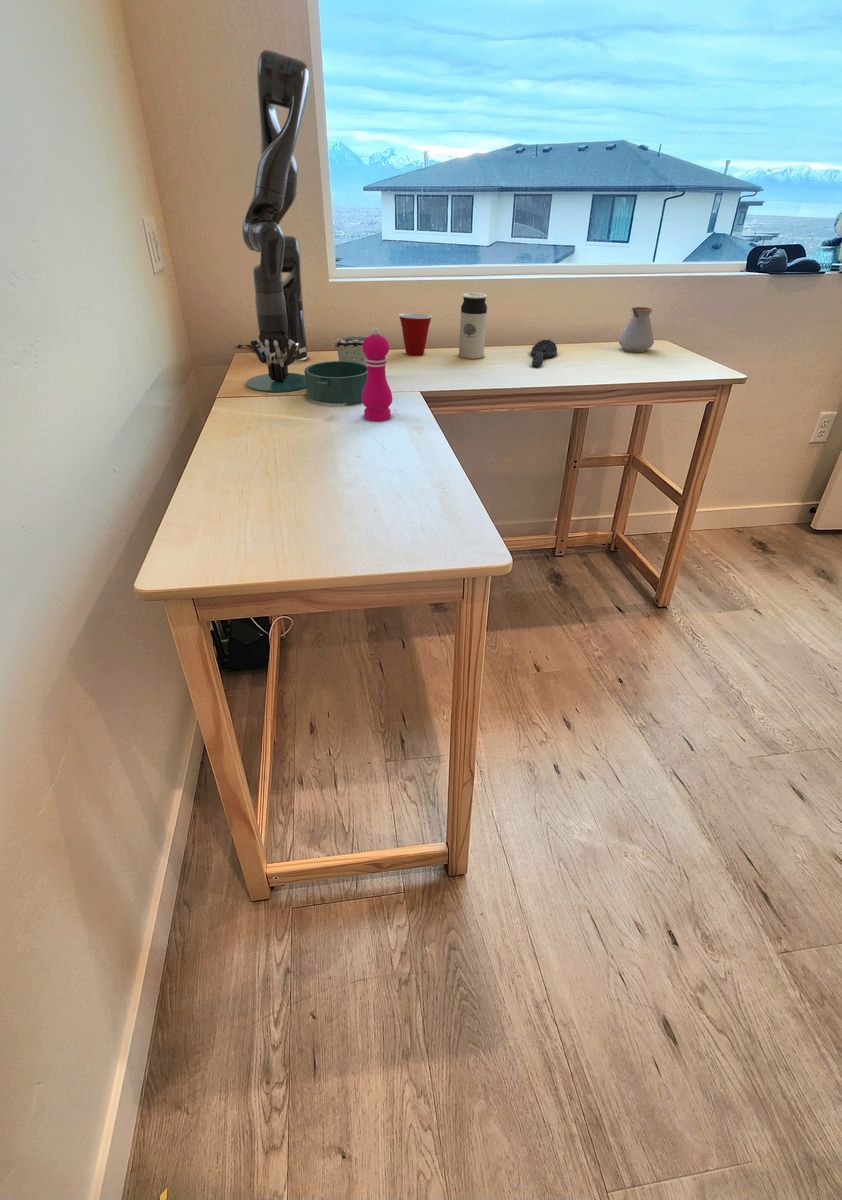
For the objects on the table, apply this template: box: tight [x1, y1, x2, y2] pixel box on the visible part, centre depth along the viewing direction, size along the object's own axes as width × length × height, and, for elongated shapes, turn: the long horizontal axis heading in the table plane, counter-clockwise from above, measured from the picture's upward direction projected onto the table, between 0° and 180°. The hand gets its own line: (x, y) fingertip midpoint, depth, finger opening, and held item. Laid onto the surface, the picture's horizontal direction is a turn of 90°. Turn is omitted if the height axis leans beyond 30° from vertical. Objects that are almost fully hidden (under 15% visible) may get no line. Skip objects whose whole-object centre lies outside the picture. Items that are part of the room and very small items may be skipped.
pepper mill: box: [361, 327, 393, 422], centre depth 142 cm, size 7×7×20 cm
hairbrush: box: [530, 337, 558, 368], centre depth 197 cm, size 8×4×25 cm
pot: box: [304, 360, 368, 407], centre depth 159 cm, size 17×22×7 cm
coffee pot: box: [618, 306, 655, 353], centre depth 202 cm, size 21×12×15 cm, turn 152°
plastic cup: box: [398, 313, 433, 357], centre depth 197 cm, size 11×11×12 cm
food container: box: [334, 335, 368, 365], centre depth 175 cm, size 12×6×10 cm, turn 85°
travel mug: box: [458, 292, 488, 360], centre depth 194 cm, size 8×8×18 cm
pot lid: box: [245, 361, 306, 393], centre depth 167 cm, size 18×18×6 cm
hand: (279, 379), depth 167 cm, fingers closed on pot lid, 2 cm apart
